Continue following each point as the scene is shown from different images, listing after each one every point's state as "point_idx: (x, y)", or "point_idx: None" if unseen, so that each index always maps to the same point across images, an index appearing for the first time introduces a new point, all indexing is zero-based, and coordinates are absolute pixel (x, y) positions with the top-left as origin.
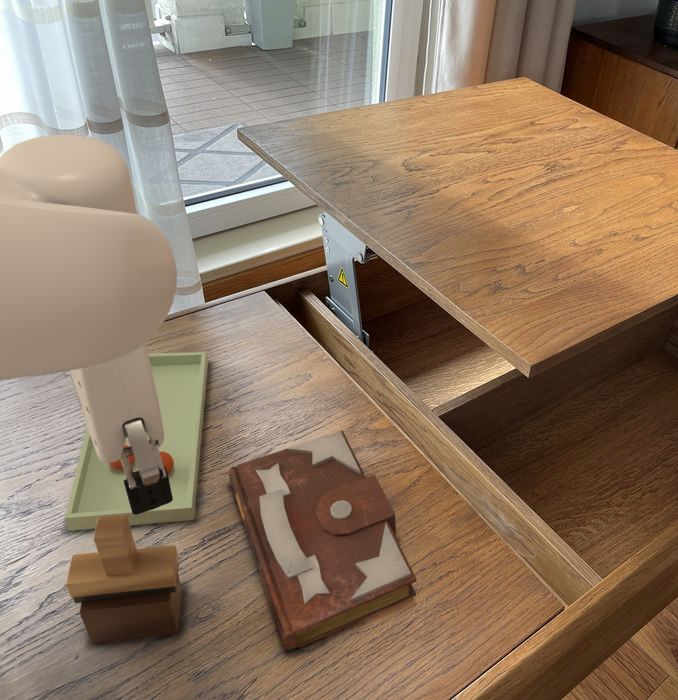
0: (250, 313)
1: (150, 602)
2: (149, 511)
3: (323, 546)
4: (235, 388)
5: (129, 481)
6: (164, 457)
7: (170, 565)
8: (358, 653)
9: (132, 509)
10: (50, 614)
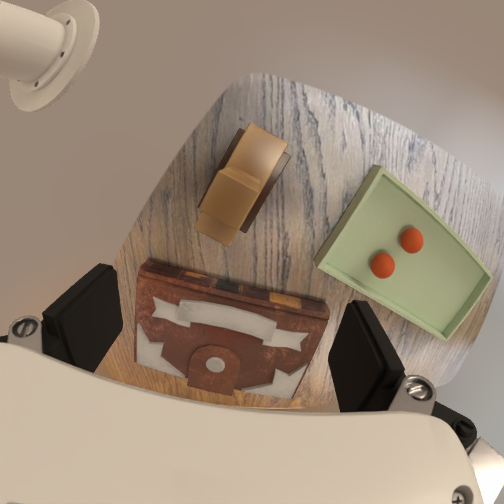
0: (446, 372)
1: (207, 191)
2: (339, 233)
3: (194, 335)
4: (407, 342)
5: (9, 334)
6: (382, 274)
7: (204, 231)
8: (127, 296)
9: (92, 270)
10: (296, 115)
